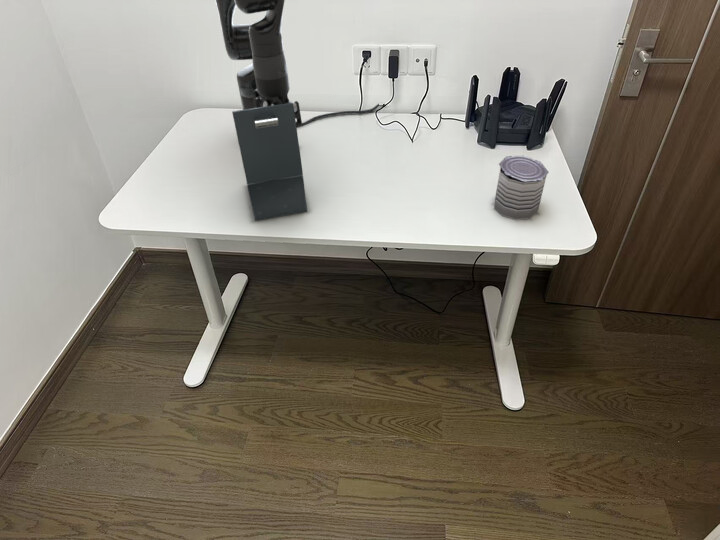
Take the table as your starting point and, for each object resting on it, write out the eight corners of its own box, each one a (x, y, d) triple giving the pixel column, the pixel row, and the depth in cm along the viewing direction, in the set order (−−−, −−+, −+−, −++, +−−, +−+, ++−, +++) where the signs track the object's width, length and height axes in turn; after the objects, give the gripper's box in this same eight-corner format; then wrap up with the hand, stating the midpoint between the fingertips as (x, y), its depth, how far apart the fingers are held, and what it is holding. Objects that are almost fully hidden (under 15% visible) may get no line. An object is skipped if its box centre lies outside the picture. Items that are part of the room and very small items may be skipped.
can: (501, 190, 140) (508, 150, 132) (544, 201, 136) (554, 160, 128) (486, 212, 133) (493, 171, 125) (530, 225, 129) (540, 183, 121)
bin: (248, 186, 146) (240, 151, 138) (296, 178, 148) (291, 143, 141) (254, 221, 134) (247, 185, 126) (307, 211, 136) (302, 175, 129)
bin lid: (232, 111, 116) (233, 119, 112) (292, 102, 118) (296, 109, 114) (246, 182, 126) (248, 192, 122) (302, 173, 129) (306, 182, 124)
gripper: (304, 73, 118) (311, 138, 129) (262, 59, 125) (272, 122, 136) (280, 85, 114) (289, 151, 125) (237, 69, 121) (250, 133, 132)
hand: (280, 136), depth 130 cm, fingers open, 8 cm apart
